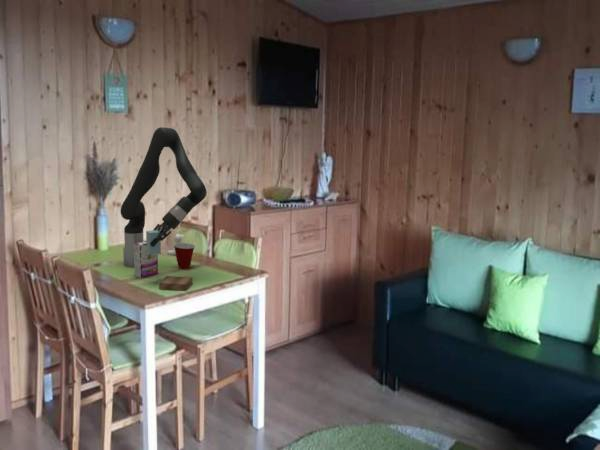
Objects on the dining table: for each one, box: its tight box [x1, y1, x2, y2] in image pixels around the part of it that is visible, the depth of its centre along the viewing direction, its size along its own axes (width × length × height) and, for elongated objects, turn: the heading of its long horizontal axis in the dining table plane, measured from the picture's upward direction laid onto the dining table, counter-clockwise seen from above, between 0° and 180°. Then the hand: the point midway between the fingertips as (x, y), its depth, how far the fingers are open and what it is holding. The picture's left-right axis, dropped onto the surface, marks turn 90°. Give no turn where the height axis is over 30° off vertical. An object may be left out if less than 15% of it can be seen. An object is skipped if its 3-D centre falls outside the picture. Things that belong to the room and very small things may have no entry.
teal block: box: [145, 229, 162, 255], centre depth 274 cm, size 5×5×10 cm
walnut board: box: [158, 275, 193, 292], centre depth 272 cm, size 12×12×3 cm
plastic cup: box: [173, 242, 196, 270], centre depth 305 cm, size 11×11×12 cm
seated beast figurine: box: [166, 233, 185, 256], centre depth 333 cm, size 10×9×12 cm
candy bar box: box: [133, 240, 159, 279], centre depth 288 cm, size 11×5×16 cm, turn 148°
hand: (149, 244), depth 273 cm, fingers closed on teal block, 5 cm apart
